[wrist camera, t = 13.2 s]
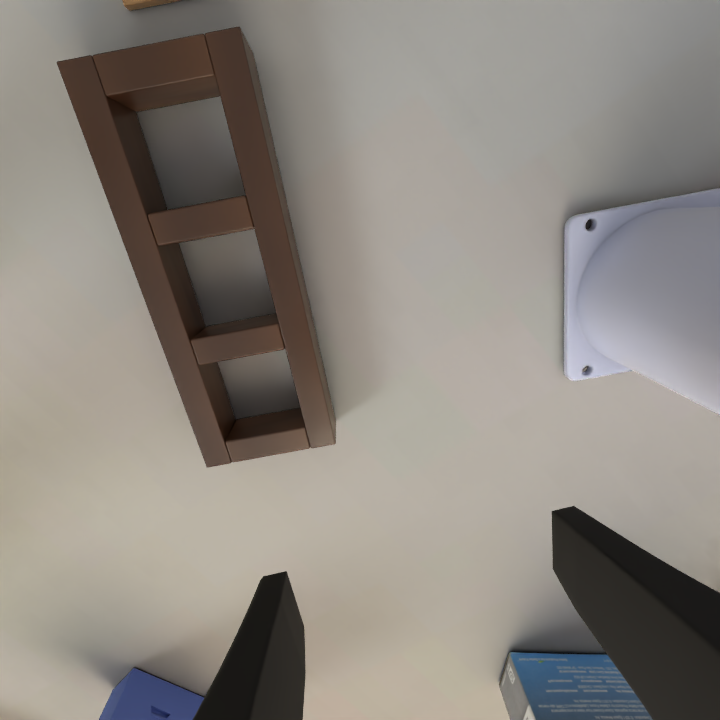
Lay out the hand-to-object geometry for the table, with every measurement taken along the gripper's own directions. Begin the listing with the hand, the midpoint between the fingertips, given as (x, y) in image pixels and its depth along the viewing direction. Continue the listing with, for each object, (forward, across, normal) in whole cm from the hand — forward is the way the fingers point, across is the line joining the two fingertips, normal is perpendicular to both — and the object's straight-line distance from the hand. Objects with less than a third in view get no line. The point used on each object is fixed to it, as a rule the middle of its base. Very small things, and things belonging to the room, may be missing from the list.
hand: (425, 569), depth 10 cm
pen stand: (+11, +5, -8) cm, 14 cm away
